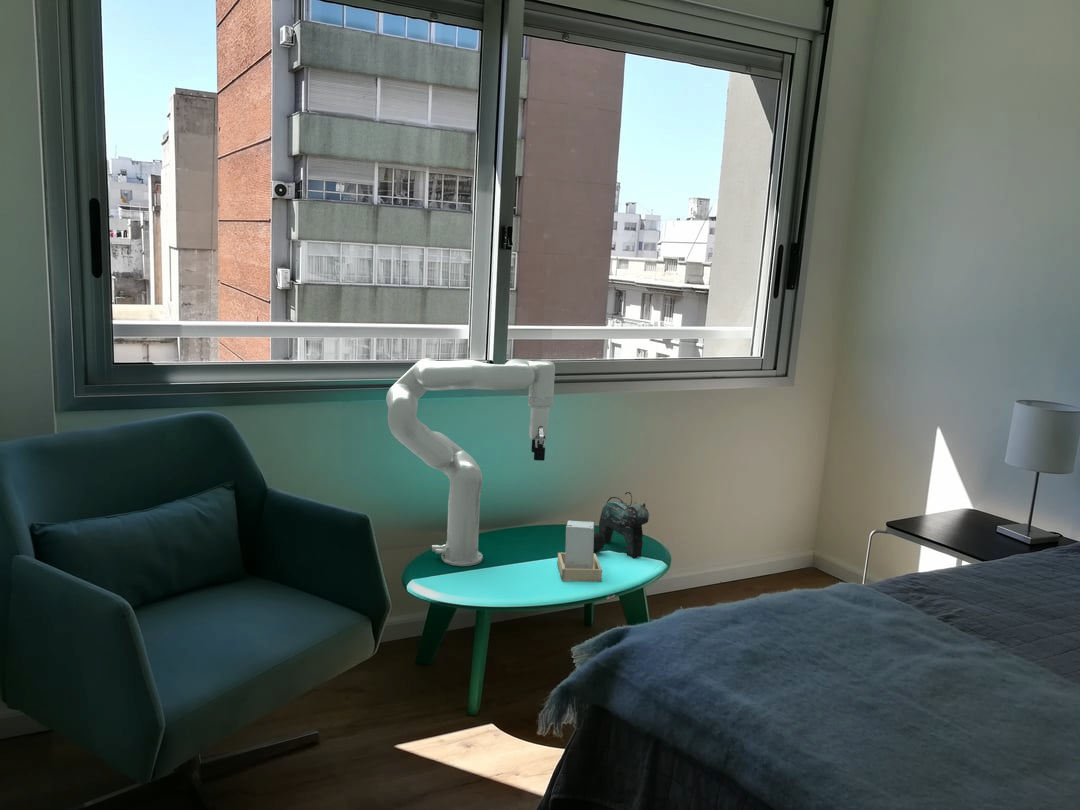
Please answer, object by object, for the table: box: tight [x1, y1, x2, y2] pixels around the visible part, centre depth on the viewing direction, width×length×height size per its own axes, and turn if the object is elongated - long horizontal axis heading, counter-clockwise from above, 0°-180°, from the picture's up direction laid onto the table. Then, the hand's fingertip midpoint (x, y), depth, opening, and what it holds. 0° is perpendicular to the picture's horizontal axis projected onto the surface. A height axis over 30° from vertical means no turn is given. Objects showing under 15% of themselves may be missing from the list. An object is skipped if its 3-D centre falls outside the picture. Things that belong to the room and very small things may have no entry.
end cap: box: [593, 531, 605, 554], centre depth 273 cm, size 10×7×7 cm
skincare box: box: [564, 520, 595, 569], centre depth 256 cm, size 8×6×15 cm
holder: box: [556, 552, 603, 583], centre depth 257 cm, size 12×14×4 cm
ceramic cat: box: [598, 491, 650, 559], centre depth 277 cm, size 20×6×20 cm, turn 35°
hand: (537, 456), depth 263 cm, fingers open, 9 cm apart
